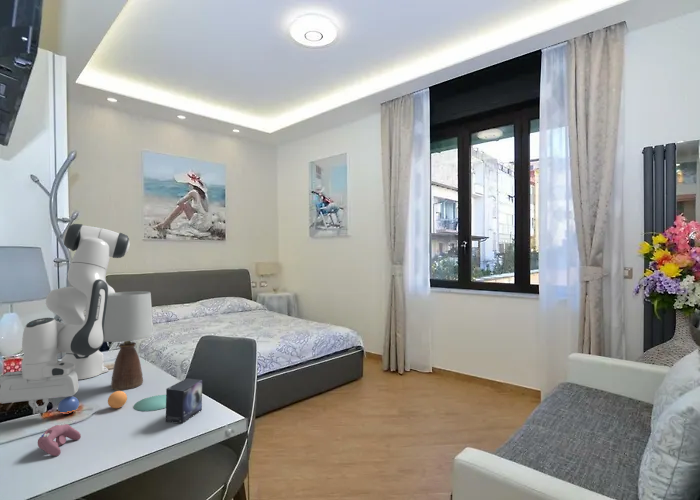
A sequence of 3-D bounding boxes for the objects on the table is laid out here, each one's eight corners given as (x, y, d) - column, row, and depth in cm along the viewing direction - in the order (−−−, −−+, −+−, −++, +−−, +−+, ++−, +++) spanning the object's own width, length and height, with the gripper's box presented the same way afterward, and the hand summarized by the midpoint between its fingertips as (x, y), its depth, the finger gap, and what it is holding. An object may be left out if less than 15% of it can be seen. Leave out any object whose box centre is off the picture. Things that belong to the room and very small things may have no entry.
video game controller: (68, 444, 105) (56, 422, 105) (83, 436, 106) (72, 415, 106) (42, 464, 96) (30, 440, 95) (59, 455, 96) (47, 431, 96)
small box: (183, 424, 114) (183, 390, 114) (164, 422, 116) (164, 388, 116) (203, 410, 125) (203, 379, 125) (186, 408, 126) (186, 377, 126)
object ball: (107, 407, 128) (107, 390, 128) (126, 403, 131) (126, 387, 131) (108, 412, 123) (108, 395, 123) (127, 408, 126) (127, 392, 126)
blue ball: (58, 413, 123) (58, 396, 123) (79, 409, 126) (79, 392, 126) (57, 419, 118) (57, 401, 118) (78, 414, 121) (78, 397, 121)
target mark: (131, 401, 133) (131, 400, 133) (174, 392, 141) (174, 392, 141) (135, 414, 121) (135, 414, 121) (181, 404, 129) (181, 404, 129)
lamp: (87, 390, 143) (88, 295, 144) (131, 375, 161) (131, 290, 161) (122, 396, 137) (123, 296, 137) (163, 380, 154) (164, 291, 155)
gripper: (-6, 376, 113) (-7, 421, 113) (73, 369, 120) (73, 411, 120) (5, 370, 119) (5, 413, 119) (80, 363, 126) (80, 404, 126)
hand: (39, 412), depth 119 cm, fingers closed
